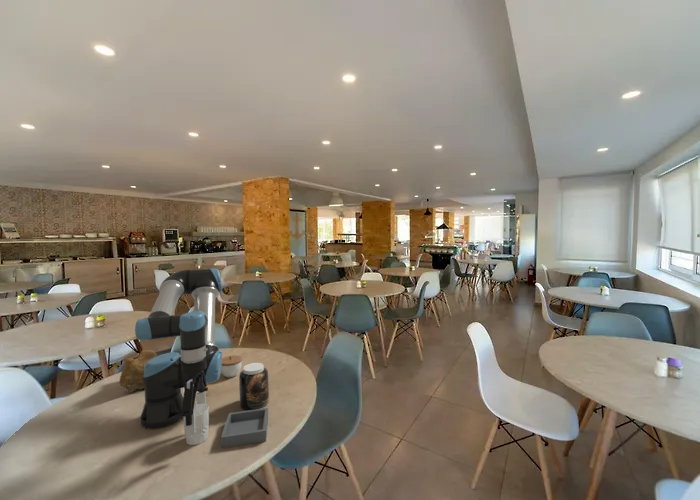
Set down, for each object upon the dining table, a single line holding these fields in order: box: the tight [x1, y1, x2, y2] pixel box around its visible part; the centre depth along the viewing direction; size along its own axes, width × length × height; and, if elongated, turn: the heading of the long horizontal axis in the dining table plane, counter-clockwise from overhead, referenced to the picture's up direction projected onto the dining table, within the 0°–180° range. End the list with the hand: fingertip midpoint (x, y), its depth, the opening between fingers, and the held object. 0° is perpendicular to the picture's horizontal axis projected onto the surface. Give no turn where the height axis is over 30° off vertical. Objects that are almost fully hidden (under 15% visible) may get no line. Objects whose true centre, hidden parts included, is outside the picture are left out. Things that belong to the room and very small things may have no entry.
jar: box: [238, 362, 270, 411], centre depth 124 cm, size 12×12×15 cm
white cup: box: [182, 403, 210, 446], centre depth 102 cm, size 8×8×10 cm
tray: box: [220, 407, 269, 449], centre depth 106 cm, size 14×14×4 cm
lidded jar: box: [220, 355, 243, 378], centre depth 151 cm, size 11×11×9 cm
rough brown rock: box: [119, 349, 158, 393], centre depth 142 cm, size 23×17×15 cm
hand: (196, 421), depth 102 cm, fingers open, 13 cm apart
